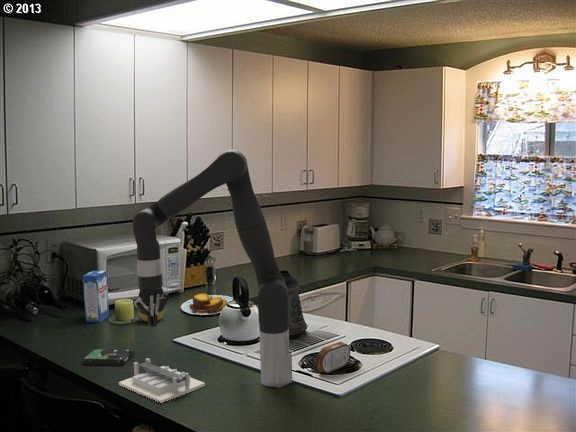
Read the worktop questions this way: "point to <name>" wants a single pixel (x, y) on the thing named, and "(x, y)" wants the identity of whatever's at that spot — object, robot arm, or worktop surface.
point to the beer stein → (294, 307)
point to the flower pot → (146, 315)
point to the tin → (333, 357)
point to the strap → (161, 372)
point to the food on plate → (205, 304)
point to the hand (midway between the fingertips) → (153, 326)
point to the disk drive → (109, 357)
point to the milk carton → (96, 296)
